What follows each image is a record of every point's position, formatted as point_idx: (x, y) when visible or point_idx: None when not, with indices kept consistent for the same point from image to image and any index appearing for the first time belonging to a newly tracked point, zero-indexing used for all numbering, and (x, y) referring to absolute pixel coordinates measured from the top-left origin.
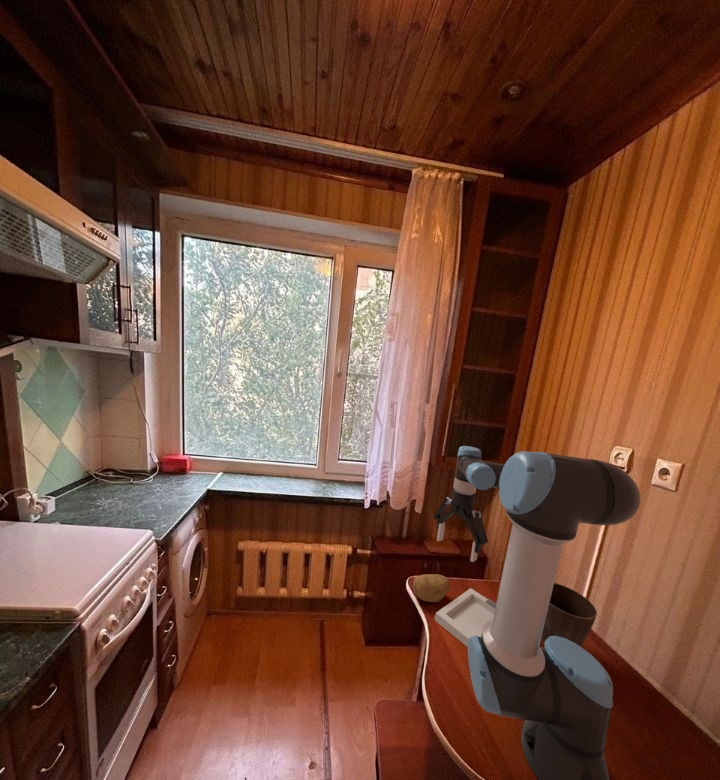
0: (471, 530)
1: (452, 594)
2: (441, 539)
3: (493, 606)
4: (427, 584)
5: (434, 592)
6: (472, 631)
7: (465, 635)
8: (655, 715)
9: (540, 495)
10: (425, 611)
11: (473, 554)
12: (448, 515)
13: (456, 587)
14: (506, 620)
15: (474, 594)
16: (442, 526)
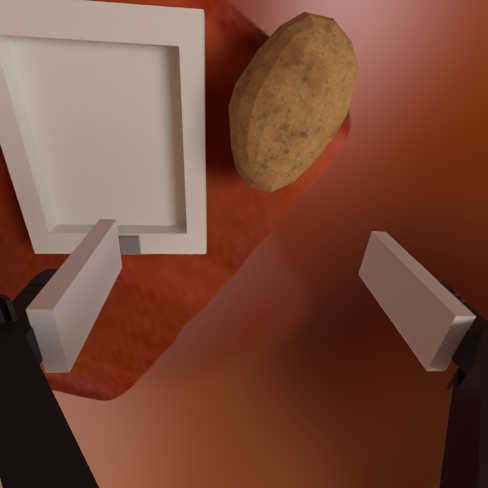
0: (37, 424)
1: (239, 197)
2: (365, 262)
3: None
4: (288, 52)
5: (251, 68)
6: (96, 89)
7: (65, 4)
8: None
9: None
10: (252, 25)
11: (78, 246)
12: (486, 463)
13: (248, 236)
14: None
15: (181, 237)
16: (424, 320)
